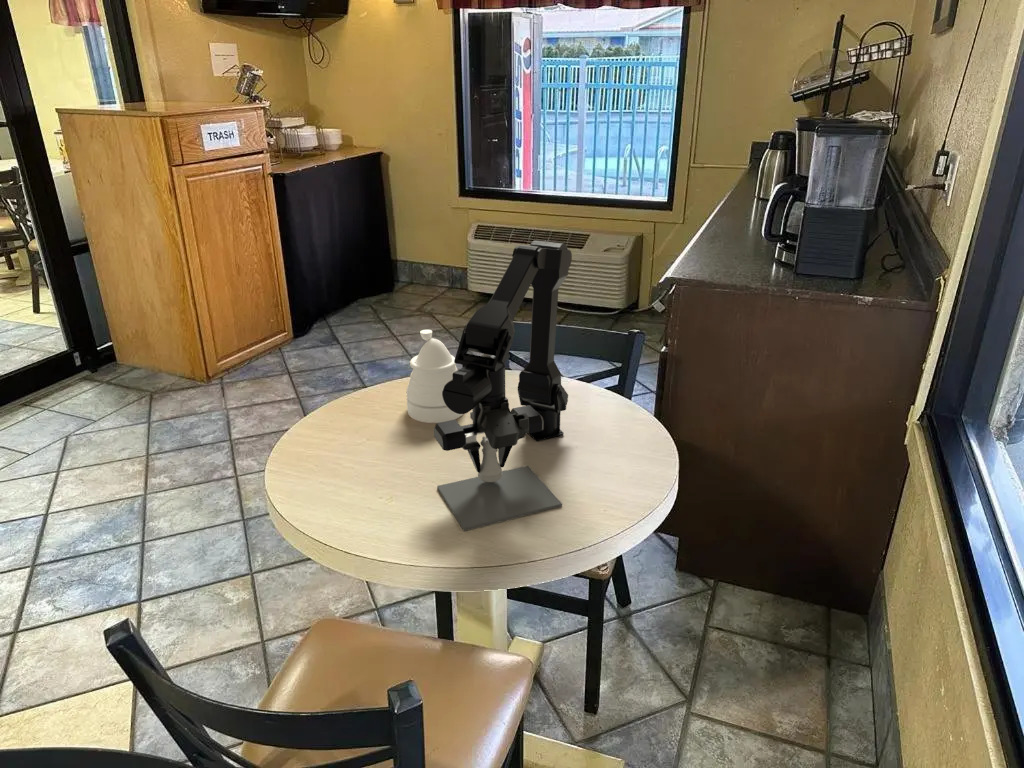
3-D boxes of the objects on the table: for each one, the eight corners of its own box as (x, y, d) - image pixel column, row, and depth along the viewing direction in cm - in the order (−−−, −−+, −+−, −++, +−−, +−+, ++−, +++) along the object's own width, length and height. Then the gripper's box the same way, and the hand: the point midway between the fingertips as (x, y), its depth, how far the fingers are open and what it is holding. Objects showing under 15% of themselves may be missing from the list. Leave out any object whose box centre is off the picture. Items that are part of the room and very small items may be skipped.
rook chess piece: (493, 486, 126) (492, 446, 123) (472, 479, 128) (471, 439, 125) (507, 474, 130) (507, 436, 126) (486, 468, 132) (486, 429, 129)
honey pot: (395, 413, 157) (389, 336, 150) (433, 392, 167) (429, 319, 159) (440, 428, 150) (436, 348, 143) (477, 406, 160) (475, 330, 153)
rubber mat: (528, 468, 136) (528, 465, 135) (561, 506, 124) (562, 503, 124) (437, 488, 129) (437, 485, 129) (464, 531, 117) (463, 528, 117)
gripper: (452, 419, 112) (455, 504, 118) (558, 399, 119) (556, 479, 125) (430, 392, 121) (434, 471, 128) (530, 374, 128) (529, 450, 134)
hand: (489, 469), depth 128 cm, fingers closed on rook chess piece, 4 cm apart
